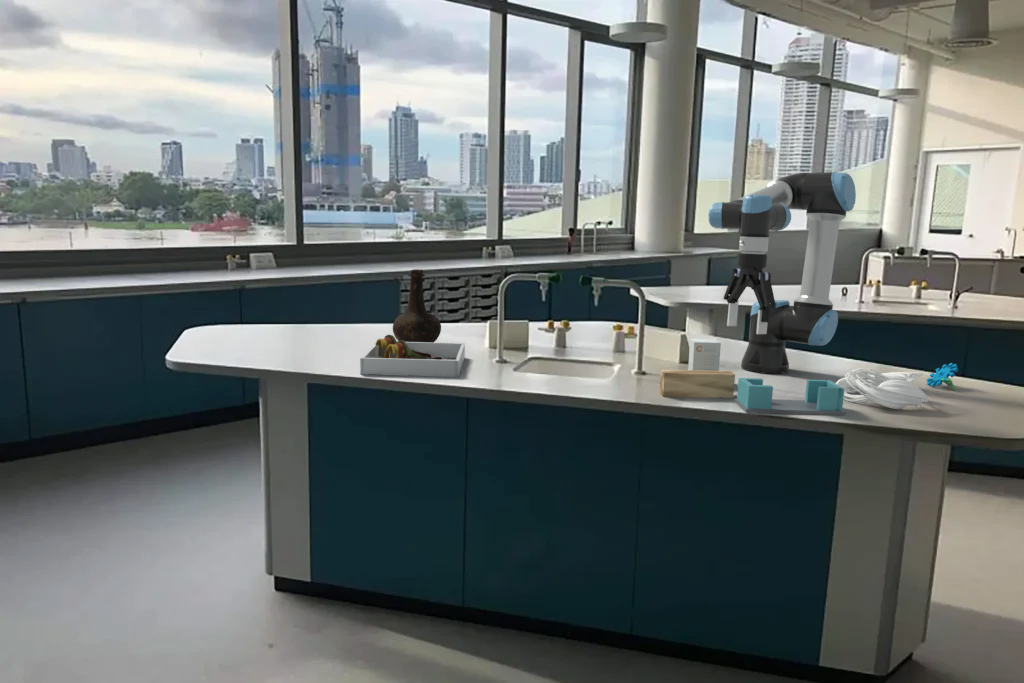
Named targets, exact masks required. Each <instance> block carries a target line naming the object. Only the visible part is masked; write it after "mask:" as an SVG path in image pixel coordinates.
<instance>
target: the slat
mask: <svg viewBox="0 0 1024 683" xmlns="http://www.w3.org/2000/svg"><path fill="white" fill-rule="evenodd" d="M735 376H736V374H735V373H733V371H731V370H719V371H704V370H688V369H660V379H659V381H660V382H659V394H660V395H661V396H662V397H664V398H666V397H667V398H709V397H723V399H734V393H735V392H734V391H735V382H736V381H735V378H736V377H735Z"/></svg>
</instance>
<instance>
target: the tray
mask: <svg viewBox="0 0 1024 683" xmlns="http://www.w3.org/2000/svg"><path fill="white" fill-rule="evenodd" d="M406 344H407V346H408V347H409V349H410V350H414V351H416V352H421V353H427V354H431V355H432V358H434V357H441V358H443V359H444V360H435V359H431V358H428V359H396V358H379V356H378V346H379V345H376V342H375V343H374V344H373V345H372V346H371V347H370V348H369V349H368V350H367V351H366V352H364V354H363V355H361V357H360V358H359V362H360V363H359V367H360V368H359V369H360V372H359V373H360V375H368V374H382V375H383V374H384V375H383V376H408V375H418V377H454V378H458V377H460V374H461V371H462V370H461V369H462V368H463V367H462V366H463V364H464V361H465V357H466V353H465V352H466V351H465V350H466V345H465V344H466V343H465V342H464V343H463V342H434V343H432V342H406ZM448 358H449V359H448ZM385 374H386V375H385ZM382 375H381V376H382Z"/></svg>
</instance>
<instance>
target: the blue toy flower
mask: <svg viewBox="0 0 1024 683" xmlns="http://www.w3.org/2000/svg"><path fill="white" fill-rule="evenodd" d="M958 367H959V365H957V364H956V363H953V362H950V363H949V364H948V365H947V364H946V363H945V364H943V365H942V367H941V368H940V367H938V368H936V369H935V373H934V372H931V373H930V374H929V377H928V378H927V379H926V385H927V386H928V385H929V386H928V387H930V386H931V387H932V388H934V387H936V386H937V387H939V386H942V385H943V384H945V385H946V386H948V387H950V388H951V389H952V390H953V391H954V390H956V391H957V388H956V387H955V385H954V383H953V380H952V379H951V378H953V377H955V376H956V374H955V373H957V372H959V368H958Z"/></svg>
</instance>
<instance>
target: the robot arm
mask: <svg viewBox="0 0 1024 683" xmlns="http://www.w3.org/2000/svg"><path fill="white" fill-rule="evenodd" d="M856 194H857V192H856V185H855V182H854V178H852V176H851V175H850V174H849V173H846V172H839V171H838V172H837V171H833V172H832V171H831V172H829V171H828V172H798V173H797V172H796V173H793V174H790V175H786V176H782V177H780V178H777V179H775V180H773V181H771V182H769V183H768V184H767V185H766V186H765V187H764V188H762V189H759V190H757V191H754V192H751V193H749V194H747V195H744V196H741V197H739V198H737V199H735V200H731V201H730V202H729V201H728V202H724V201H721V202H714V203H713V204H712V205H711V206H710V207H709V211H708V222H709V225H710V226H711V227H712V228H715V229H721V230H740V234H739V242H738V243H739V244H738V251H740V252H739V253H738V255H737V266H738V267H740V268H732V273H731V277H730V280H729V282H728V285H727V287H726V290H725V292H724V295H723V300H725V301H726V302H727V320H726V326H727V327H737V326H738V314H739V299H740V298H741V296H742V294H743V293H744V292H745V289H747V288H750V289H751V290H752V291H753V292H754V295H755V297H756V300H757V301H755V302H754V303H753V304H752V305H751V311H750V314H749V315H750V320H749V321H750V322H749V335H748V345H747V346H746V350H745V352H744V354H743V356H742V359H741V362H740V363H741V365H740V367H741V369H743V370H746V371H749V372H753V371H756V372H755V373H759V372H764V373H763V374H771V373H778V374H784V373H783V372H786V373H788V372H789V370H790V363H789V359H788V354H787V351H786V342H791V343H798V344H805V345H809V346H826V345H828V343H830V341H831V340H832V339H833V337H834V335H835V334H836V330H837V327H838V323H839V313H838V312H837V310H834V309H833V308H834V304H833V302H832V301H831V300H830V298H829V297H830V292H831V284H832V278H833V271H834V265H835V264H834V263H835V257H836V250H837V242H838V236H839V229H840V223H841V222H842V221H843V220H844V219H845V218H846V217H847V212H850V211H852V210H853V209H854V207H855V206H854V205H855V204H856V197H857V195H856ZM791 210H803V211H806V212H805V213H806V214H805V215H806V217H807V218H808V219H809V228H808V235H807V244H806V248H805V257H804V265H803V269H802V270H803V272H802V278H801V279H802V280H801V285H800V292H799V293H800V294H799V295H798V297H797V298H795V299H794V300H793V305H791V303H790V301H789V300H788V299H787V300H786V299H775V296H774V291H773V287H772V281H771V277H772V276H771V272H765V271H763V269H765V268H766V267H767V264H768V263H767V260H768V254H766V253H768V252H769V240H770V231H771V232H779V231H782V230H784V229H786V228H788V226H789V225H790V224H791V220H792V212H791ZM787 371H788V372H787Z"/></svg>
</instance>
